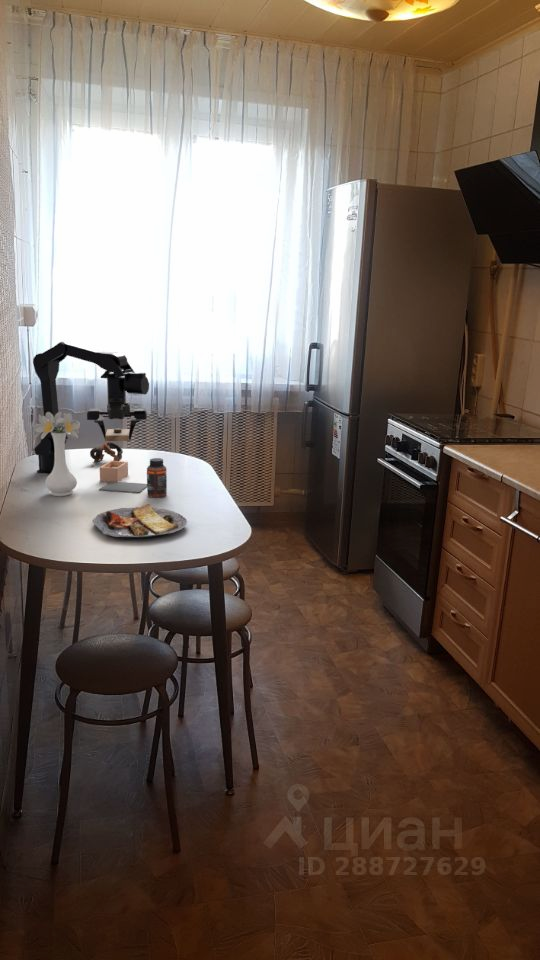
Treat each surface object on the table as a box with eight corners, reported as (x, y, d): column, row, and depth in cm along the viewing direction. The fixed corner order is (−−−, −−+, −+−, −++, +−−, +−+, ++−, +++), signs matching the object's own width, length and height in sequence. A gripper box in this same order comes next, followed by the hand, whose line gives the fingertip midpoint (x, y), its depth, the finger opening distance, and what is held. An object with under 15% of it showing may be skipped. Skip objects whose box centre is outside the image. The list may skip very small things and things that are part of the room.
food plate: (83, 519, 209) (82, 506, 208) (163, 510, 220) (163, 498, 219) (112, 549, 188) (112, 536, 187) (199, 538, 199) (199, 525, 198)
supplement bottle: (170, 494, 235) (170, 458, 233) (160, 499, 230) (159, 462, 227) (154, 491, 238) (153, 456, 235) (143, 496, 233) (142, 460, 230)
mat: (98, 490, 238) (98, 489, 238) (110, 482, 247) (110, 481, 247) (139, 493, 236) (139, 491, 236) (149, 485, 245) (149, 483, 245)
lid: (105, 441, 243) (105, 432, 243) (107, 434, 254) (107, 426, 253) (128, 440, 244) (128, 432, 244) (129, 434, 255) (129, 426, 254)
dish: (99, 480, 249) (99, 467, 248) (111, 473, 259) (110, 460, 257) (117, 482, 248) (117, 468, 247) (128, 474, 258) (127, 461, 257)
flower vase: (85, 485, 243) (83, 407, 237) (78, 501, 226) (75, 417, 219) (43, 485, 242) (39, 406, 235) (33, 501, 224) (28, 417, 218)
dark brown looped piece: (106, 459, 282) (116, 441, 279) (119, 474, 277) (130, 456, 274) (80, 455, 272) (90, 437, 269) (93, 471, 267) (104, 452, 265)
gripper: (84, 396, 237) (86, 445, 240) (145, 396, 239) (146, 445, 243) (87, 391, 247) (89, 439, 251) (146, 391, 250) (147, 438, 254)
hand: (118, 440), depth 249 cm, fingers closed on lid, 7 cm apart
